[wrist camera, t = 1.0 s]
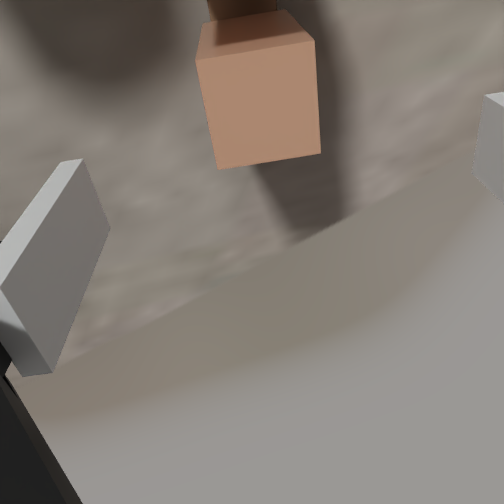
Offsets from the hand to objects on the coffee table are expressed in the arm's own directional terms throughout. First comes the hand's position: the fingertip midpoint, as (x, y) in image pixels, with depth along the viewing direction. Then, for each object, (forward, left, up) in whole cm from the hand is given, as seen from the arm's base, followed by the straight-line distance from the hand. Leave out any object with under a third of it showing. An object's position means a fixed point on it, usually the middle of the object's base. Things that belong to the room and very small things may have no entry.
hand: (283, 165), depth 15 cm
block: (0, 0, -16) cm, 16 cm away
